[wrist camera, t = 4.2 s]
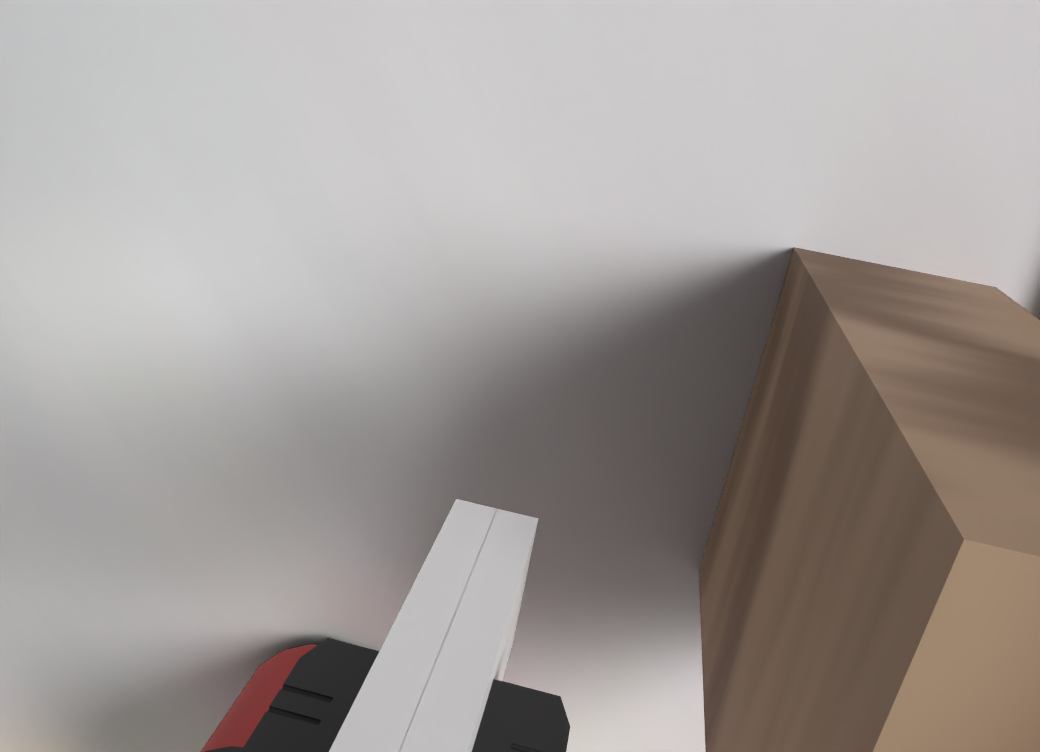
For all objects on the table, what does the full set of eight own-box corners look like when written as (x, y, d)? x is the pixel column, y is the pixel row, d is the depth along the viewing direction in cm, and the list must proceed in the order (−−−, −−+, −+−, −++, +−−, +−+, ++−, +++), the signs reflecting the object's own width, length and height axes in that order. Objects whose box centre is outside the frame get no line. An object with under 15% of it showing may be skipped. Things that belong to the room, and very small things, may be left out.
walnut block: (699, 571, 25) (719, 1108, 12) (793, 247, 22) (963, 539, 9) (875, 613, 25) (1086, 1218, 12) (1004, 289, 21) (1517, 665, 8)
